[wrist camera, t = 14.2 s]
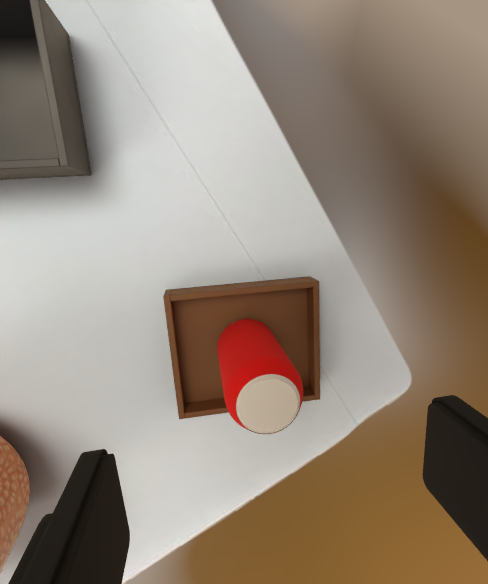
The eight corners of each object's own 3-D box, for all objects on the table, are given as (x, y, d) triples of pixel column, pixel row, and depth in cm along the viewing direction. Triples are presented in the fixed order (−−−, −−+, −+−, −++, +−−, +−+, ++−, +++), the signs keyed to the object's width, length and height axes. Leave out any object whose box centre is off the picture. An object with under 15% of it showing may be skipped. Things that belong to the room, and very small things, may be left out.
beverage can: (264, 308, 34) (299, 354, 23) (279, 359, 36) (318, 427, 24) (208, 326, 34) (215, 383, 22) (226, 377, 36) (240, 455, 24)
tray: (310, 276, 35) (318, 281, 32) (312, 387, 38) (320, 399, 36) (165, 289, 33) (163, 295, 31) (180, 405, 36) (179, 419, 34)
